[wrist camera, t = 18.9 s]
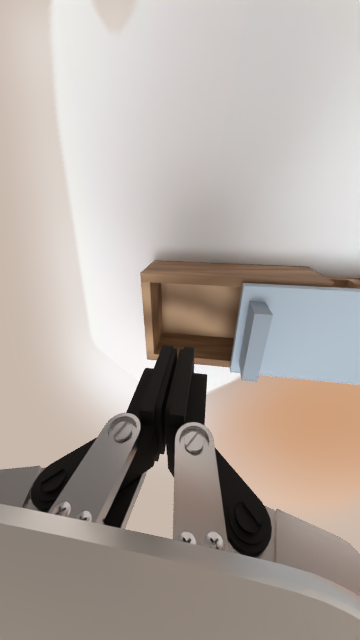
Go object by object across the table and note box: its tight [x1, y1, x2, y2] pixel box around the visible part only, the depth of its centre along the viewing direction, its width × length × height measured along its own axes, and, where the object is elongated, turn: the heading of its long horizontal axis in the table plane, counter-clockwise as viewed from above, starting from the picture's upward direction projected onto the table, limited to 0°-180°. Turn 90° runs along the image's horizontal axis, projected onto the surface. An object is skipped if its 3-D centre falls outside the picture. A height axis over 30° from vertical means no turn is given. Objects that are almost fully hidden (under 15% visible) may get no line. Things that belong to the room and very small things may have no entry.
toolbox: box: [140, 261, 360, 367], centre depth 27 cm, size 12×33×6 cm, turn 90°
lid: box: [230, 283, 360, 385], centre depth 22 cm, size 11×19×4 cm, turn 90°
